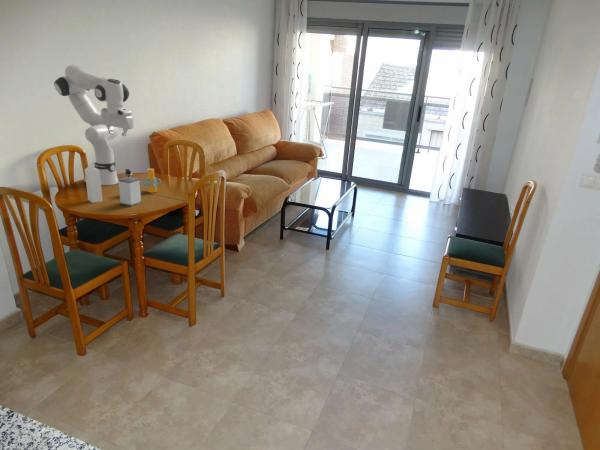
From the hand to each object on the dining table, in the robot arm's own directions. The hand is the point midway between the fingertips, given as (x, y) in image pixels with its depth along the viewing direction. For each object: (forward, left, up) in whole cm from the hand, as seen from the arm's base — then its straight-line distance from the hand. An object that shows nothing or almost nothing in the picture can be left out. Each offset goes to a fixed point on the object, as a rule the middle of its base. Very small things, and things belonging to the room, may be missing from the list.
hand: (117, 134), depth 236 cm
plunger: (+8, -3, -38) cm, 39 cm away
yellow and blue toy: (+3, +22, -39) cm, 45 cm away
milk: (-12, -10, -39) cm, 42 cm away
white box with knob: (+8, -1, -39) cm, 40 cm away
